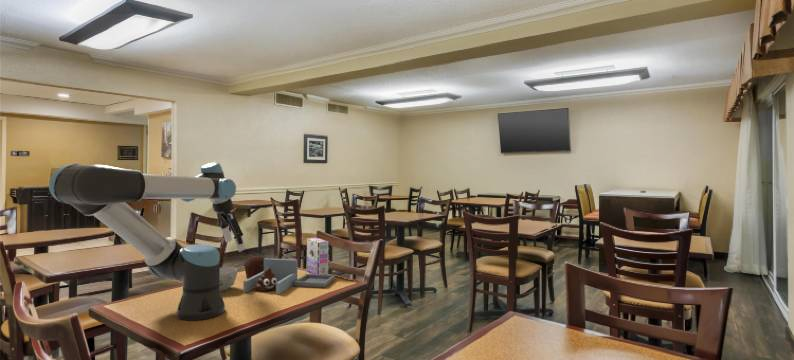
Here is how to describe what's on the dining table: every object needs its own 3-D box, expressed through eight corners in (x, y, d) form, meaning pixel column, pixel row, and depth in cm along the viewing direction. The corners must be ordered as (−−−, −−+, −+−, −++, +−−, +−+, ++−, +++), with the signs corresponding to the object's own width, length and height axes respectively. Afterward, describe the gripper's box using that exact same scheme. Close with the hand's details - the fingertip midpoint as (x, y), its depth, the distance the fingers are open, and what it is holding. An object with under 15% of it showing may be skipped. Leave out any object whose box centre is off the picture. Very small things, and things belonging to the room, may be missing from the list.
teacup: (199, 289, 176) (199, 270, 176) (226, 283, 187) (226, 265, 186) (219, 296, 168) (219, 276, 168) (247, 289, 178) (247, 270, 178)
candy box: (329, 275, 202) (329, 241, 202) (317, 277, 199) (317, 242, 198) (317, 269, 213) (317, 237, 213) (306, 271, 210) (306, 238, 210)
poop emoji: (276, 285, 185) (276, 264, 184) (282, 290, 178) (282, 267, 177) (252, 288, 179) (252, 266, 179) (258, 293, 172) (258, 270, 172)
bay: (278, 294, 171) (278, 269, 171) (243, 292, 174) (243, 267, 173) (297, 281, 190) (297, 259, 190) (265, 280, 192) (265, 258, 192)
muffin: (274, 276, 199) (274, 255, 199) (255, 281, 190) (255, 259, 189) (257, 273, 205) (257, 252, 205) (238, 278, 196) (238, 256, 195)
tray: (324, 288, 180) (324, 283, 180) (293, 286, 183) (293, 281, 183) (335, 279, 194) (335, 275, 194) (306, 278, 197) (306, 273, 196)
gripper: (242, 203, 165) (256, 250, 173) (218, 191, 183) (232, 234, 191) (224, 210, 161) (239, 258, 168) (201, 197, 179) (215, 241, 186)
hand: (235, 245), depth 179 cm, fingers open, 13 cm apart
